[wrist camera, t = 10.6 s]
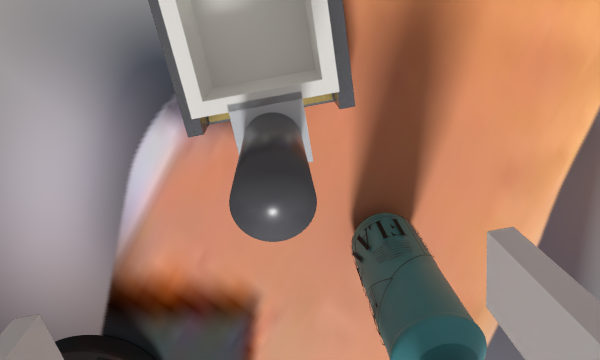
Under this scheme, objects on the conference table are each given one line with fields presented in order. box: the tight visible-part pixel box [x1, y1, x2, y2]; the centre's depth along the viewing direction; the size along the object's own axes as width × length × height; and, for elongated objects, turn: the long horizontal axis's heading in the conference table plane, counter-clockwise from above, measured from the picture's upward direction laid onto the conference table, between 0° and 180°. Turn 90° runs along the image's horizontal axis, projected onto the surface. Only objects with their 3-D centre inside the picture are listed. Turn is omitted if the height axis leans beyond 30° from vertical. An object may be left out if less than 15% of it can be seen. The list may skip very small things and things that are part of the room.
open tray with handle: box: [158, 0, 339, 242], centre depth 24 cm, size 10×14×16 cm
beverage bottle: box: [351, 213, 487, 360], centre depth 30 cm, size 6×7×20 cm
